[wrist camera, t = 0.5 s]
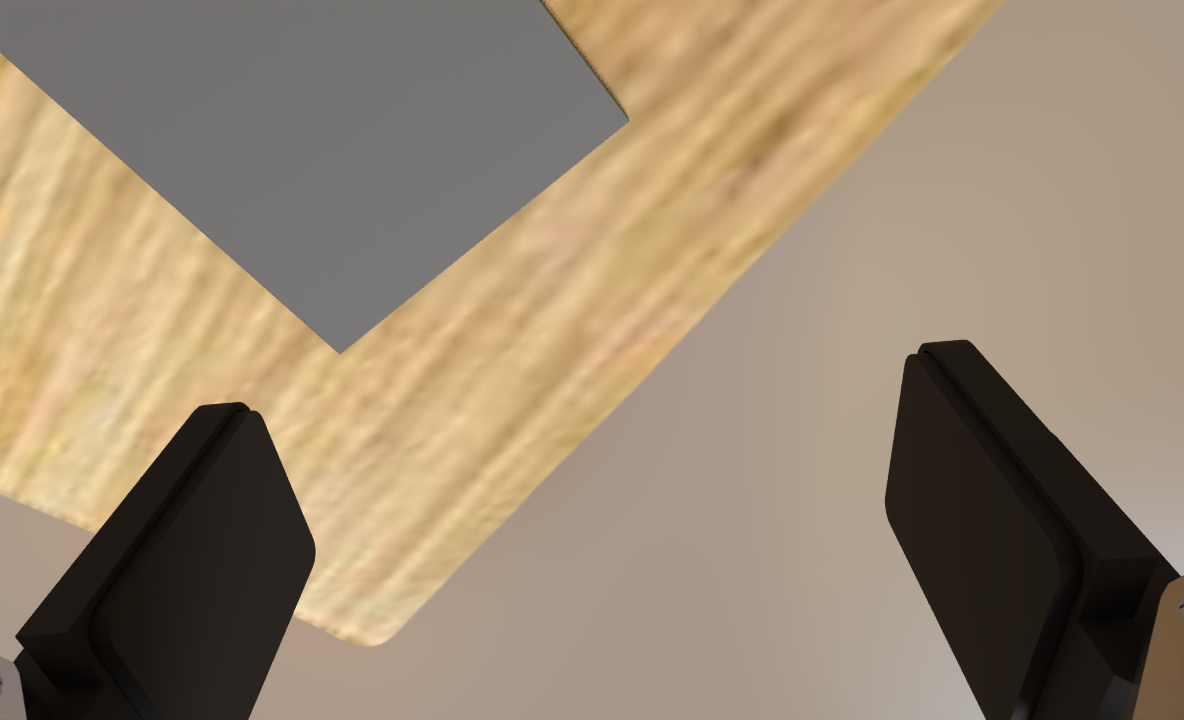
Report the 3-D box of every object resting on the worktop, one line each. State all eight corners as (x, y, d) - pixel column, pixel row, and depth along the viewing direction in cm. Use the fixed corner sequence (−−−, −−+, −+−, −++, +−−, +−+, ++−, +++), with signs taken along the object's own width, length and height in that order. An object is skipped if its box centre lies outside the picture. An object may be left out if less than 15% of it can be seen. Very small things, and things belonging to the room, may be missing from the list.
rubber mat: (218, -432, 28) (207, -443, 27) (628, 117, 38) (629, 121, 37) (-70, -26, 35) (-87, -25, 34) (344, 346, 45) (339, 354, 44)
